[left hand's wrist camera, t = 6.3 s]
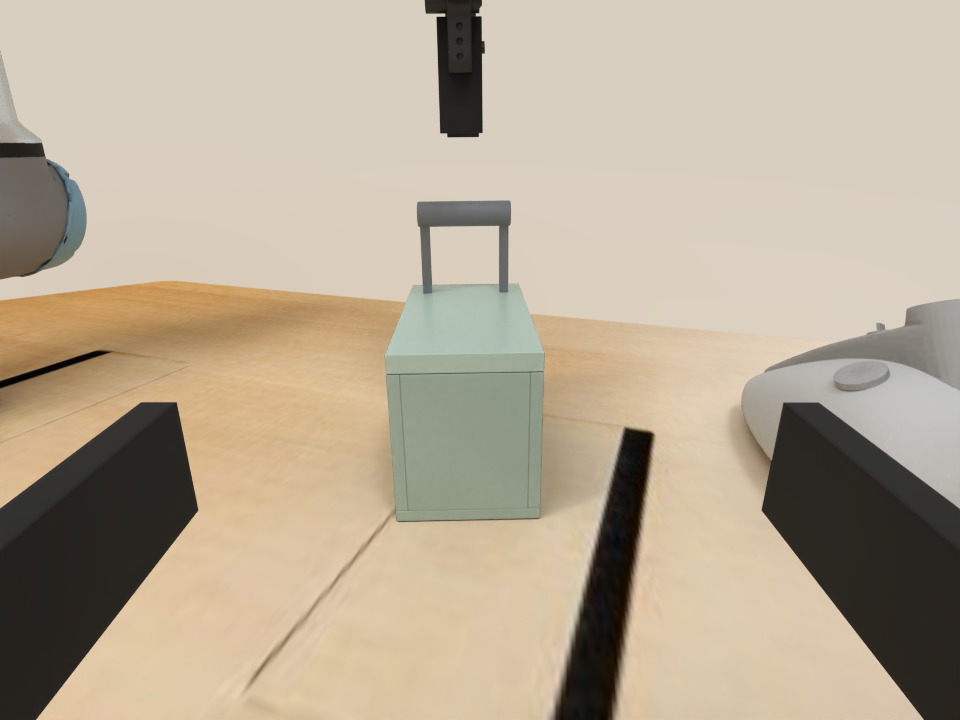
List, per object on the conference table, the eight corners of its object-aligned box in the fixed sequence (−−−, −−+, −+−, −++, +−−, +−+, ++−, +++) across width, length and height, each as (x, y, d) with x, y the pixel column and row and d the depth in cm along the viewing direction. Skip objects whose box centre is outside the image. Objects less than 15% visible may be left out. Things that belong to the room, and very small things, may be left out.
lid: (413, 298, 51) (408, 198, 48) (518, 297, 51) (519, 197, 48) (385, 374, 34) (374, 226, 31) (544, 371, 34) (548, 223, 31)
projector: (1077, 467, 42) (1156, 269, 37) (1147, 681, 25) (1309, 373, 20) (756, 394, 55) (782, 240, 50) (663, 503, 38) (688, 289, 33)
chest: (418, 408, 54) (412, 301, 50) (517, 406, 54) (519, 300, 50) (396, 521, 37) (385, 375, 34) (539, 518, 37) (544, 372, 34)
